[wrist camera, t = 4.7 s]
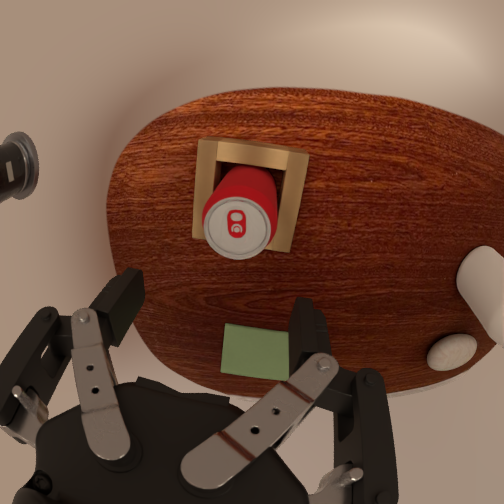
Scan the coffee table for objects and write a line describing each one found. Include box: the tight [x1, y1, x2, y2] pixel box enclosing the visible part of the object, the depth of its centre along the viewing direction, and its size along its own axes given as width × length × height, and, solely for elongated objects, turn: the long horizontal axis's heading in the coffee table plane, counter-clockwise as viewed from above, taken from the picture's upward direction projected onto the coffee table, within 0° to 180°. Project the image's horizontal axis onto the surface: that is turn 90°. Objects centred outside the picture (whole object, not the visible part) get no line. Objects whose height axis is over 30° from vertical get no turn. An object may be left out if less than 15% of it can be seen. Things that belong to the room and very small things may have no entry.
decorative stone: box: [427, 334, 477, 371], centre depth 40 cm, size 13×9×5 cm
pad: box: [221, 323, 289, 381], centre depth 45 cm, size 16×13×1 cm
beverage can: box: [202, 164, 278, 260], centre depth 26 cm, size 6×6×12 cm
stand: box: [192, 136, 310, 253], centre depth 30 cm, size 11×11×4 cm
